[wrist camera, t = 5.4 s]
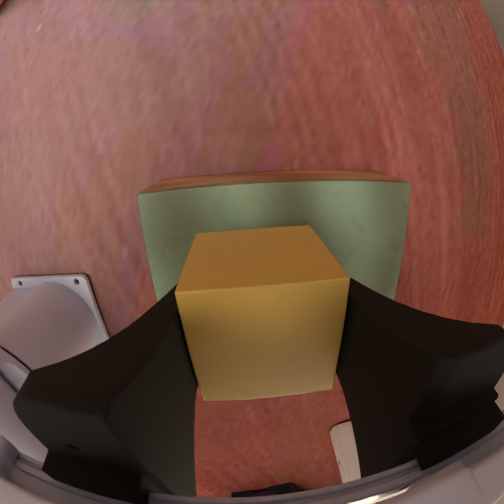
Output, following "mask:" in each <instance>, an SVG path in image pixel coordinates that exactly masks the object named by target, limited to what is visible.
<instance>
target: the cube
mask: <svg viewBox="0 0 504 504" xmlns="http://www.w3.org/2000/svg"><path fill="white" fill-rule="evenodd" d="M349 283H350V277H349V276H348V274H347V273H346V272H345V270H344V269H343V268H342V266H341V265H340V264H339V262H338V261H337V260H336V259H335V257H334V256H333V255H332V253H331V252H330V251H329V250H328V248H327V247H326V246H325V244H324V243H323V242H322V241H321V239H320V238H319V237H318V236H317V234H316V233H315V232H314V231H313V229H312V228H311V227H310V226H309V225H303V226H287V227H272V228H258V229H245V230H232V231H219V232H207V233H197V234H196V236H195V239H194V241H193V244H192V246H191V249H190V252H189V254H188V257H187V260H186V262H185V265H184V268H183V271H182V273H181V276H180V279H179V282H178V285H177V287H176V290H175V296H176V301H177V305H178V310H179V314H180V318H181V322H182V326H183V330H184V334H185V338H186V342H187V346H188V350H189V353H190V357H191V361H192V364H193V368H194V371H195V375H196V378H197V382H198V385H199V388H200V392H201V395H202V398H203V400H204V401H223V400H243V399H257V398H268V397H278V396H287V395H295V394H302V393H309V392H315V391H321V390H327V389H331V388H332V386H333V381H334V377H335V372H336V367H337V362H338V356H339V351H340V345H341V339H342V333H343V327H344V321H345V314H346V307H347V299H348V291H349Z"/></svg>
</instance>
